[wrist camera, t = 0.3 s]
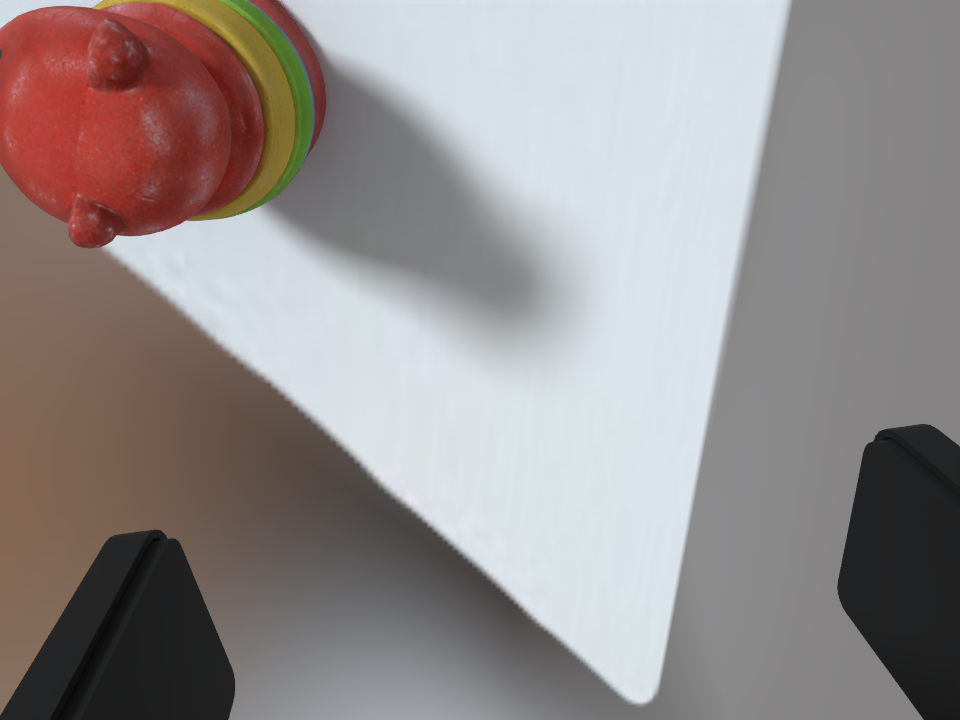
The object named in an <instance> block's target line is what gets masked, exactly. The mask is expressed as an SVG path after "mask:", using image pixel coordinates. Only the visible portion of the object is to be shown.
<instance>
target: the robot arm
mask: <svg viewBox="0 0 960 720" xmlns="http://www.w3.org/2000/svg"><path fill="white" fill-rule="evenodd" d="M837 589H838V595H839V599H840V602H841V604H842V606H843V608H844V610H845V612H846V613H847V615H848V616H849V618H850V619H851V620H852V621H853V623H854V624H855V626H856V627H857V629H858V630H859V631H860V633H861V634H862V635H863V637H864V638H865V639H866V641H867V642H868V644H869V645H870V646H871V648H872V649H873V650H874V652H875V653H876V655H877V656H878V657H879V659H880V660H881V661H882V663H883V664H884V666H885V667H886V668H887V670H888V671H889V672H890V674H891V675H892V677H893V678H894V679H895V681H896V682H897V683H898V685H899V686H900V687H901V689H902V690H903V692H904V693H905V694H906V696H907V697H908V699H909V700H910V701H911V703H912V704H913V705H914V707H915V708H916V709H917V711H918V712H919V714H920V715H921V716H922V718H923V719H924V720H960V446H959V445H957V444H956V443H955V442H953V441H952V440H951V439H950V438H948V437H947V436H946V435H944V434H943V433H942V432H941V431H939V430H938V429H936V428H935V427H933V426H931V425H926V424H920V425H913V426H905V427H898V428H891V429H884V430H882V431H879V432H878V434H877V435H876V436H875V439H874V441H873V442H871V443H868V444H867V445H866V447H865V449H864V452H863V457H862V463H861V468H860V473H859V478H858V483H857V488H856V493H855V498H854V503H853V508H852V513H851V518H850V524H849V528H848V534H847V539H846V544H845V549H844V554H843V559H842V564H841V569H840V574H839V579H838V587H837ZM234 695H235V678H234V673H233V670H232V667H231V665H230V663H229V660H228V658H227V655H226V653H225V650H224V648H223V645H222V643H221V641H220V639H219V636H218V633H217V631H216V629H215V626H214V624H213V621H212V619H211V616H210V614H209V612H208V609H207V607H206V604H205V602H204V600H203V597H202V595H201V593H200V590H199V588H198V585H197V583H196V580H195V578H194V576H193V573H192V571H191V569H190V566H189V564H188V561H187V559H186V556H185V554H184V551H183V549H182V547H181V545H180V543H179V541H177V540H176V539H167V537H166V535H165V534H164V533H163V532H162V531H161V530H149V531H141V532H134V533H127V534H120V535H114V536H112V537H110V538H109V539H108V540H107V541H106V543H105V544H104V546H103V547H102V549H101V550H100V552H99V554H98V556H97V557H96V559H95V560H94V562H93V564H92V565H91V567H90V569H89V570H88V572H87V574H86V575H85V577H84V578H83V580H82V582H81V584H80V585H79V587H78V588H77V590H76V592H75V593H74V595H73V597H72V598H71V600H70V602H69V603H68V605H67V607H66V608H65V610H64V612H63V613H62V615H61V617H60V618H59V620H58V622H57V623H56V625H55V626H54V628H53V630H52V631H51V633H50V635H49V636H48V638H47V639H46V641H45V643H44V645H43V646H42V648H41V649H40V651H39V653H38V654H37V656H36V658H35V659H34V661H33V662H32V664H31V666H30V667H29V669H28V671H27V672H26V674H25V676H24V677H23V679H22V681H21V682H20V684H19V686H18V687H17V689H16V690H15V692H14V694H13V696H12V697H11V699H10V700H9V702H8V704H7V705H6V707H5V709H4V710H3V712H2V714H1V715H0V720H228V719H229V715H230V712H231V708H232V704H233V700H234Z"/></svg>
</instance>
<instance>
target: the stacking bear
mask: <svg viewBox="0 0 960 720" xmlns="http://www.w3.org/2000/svg"><path fill="white" fill-rule="evenodd" d="M325 105H326V98H325V85H324V80H323V76H322V72H321V69H320V66H319V63H318V61H317V58H316V56H315V54H314V52H313V50H312V48H311V47H310V45H309V43H308V41H307V40H306V38H305V37H304V35H303V34H302V32H301V31H300V29H299V28H298V26H297V25H296V24H295V22H294V21H293V20H292V18H291V17H290V16H289V15H288V13H287V12H286V11H285V10H284V8H283V7H282V6H281V5H280V4H279V3H278V2H277V1H276V0H103V1H101V2H100V3H98V4H97V5H96V6H94V7H93V8H86V7H75V6H54V7H45V8H40V9H36V10H32V11H29V12H27V13H24V14H22V15H19V16H17V17H16V18H14V19H13V20H11V21H10V22H8V23H7V24H6V25H4V26H3V27H2V28H1V29H0V164H1V166H2V167H3V169H4V170H5V171H6V173H7V174H8V176H9V177H10V178H11V180H12V181H13V182H14V183H15V184H16V186H17V187H18V188H19V189H20V190H21V192H22V193H23V194H24V195H25V196H26V197H27V198H28V199H29V200H30V201H32V202H33V203H34V204H35V205H37V206H38V207H39V208H41V209H42V210H44V211H45V212H46V213H48V214H50V215H52V216H53V217H55V218H57V219H59V220H61V221H63V222H66V223H68V229H69V236H70V239H71V241H72V242H73V243H74V244H75V245H76V246H79V247H83V248H98V247H102V246H104V245H106V244H108V243H110V242H111V241H113V239H114V238H115V237H116V235H120V236H141V235H148V234H153V233H156V232H160V231H164V230H167V229H169V228H172V227H174V226H176V225H178V224H181V223H182V222H184V221H202V220H212V219H222V218H228V217H232V216H236V215H239V214H242V213H245V212H248V211H251V210H253V209H255V208H257V207H259V206H261V205H263V204H265V203H266V202H268V201H269V200H271V199H272V198H274V197H275V196H276V195H277V194H279V193H280V192H281V191H282V190H283V189H284V188H285V187H286V186H287V185H288V184H289V183H290V181H291V180H292V179H293V178H294V176H295V175H296V174H297V172H298V171H299V169H300V167H301V165H302V164H303V162H304V160H305V158H306V156H307V154H308V153H309V152H310V150H311V149H312V148H313V146H314V144H315V142H316V140H317V138H318V136H319V133H320V131H321V128H322V125H323V120H324V115H325Z"/></svg>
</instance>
